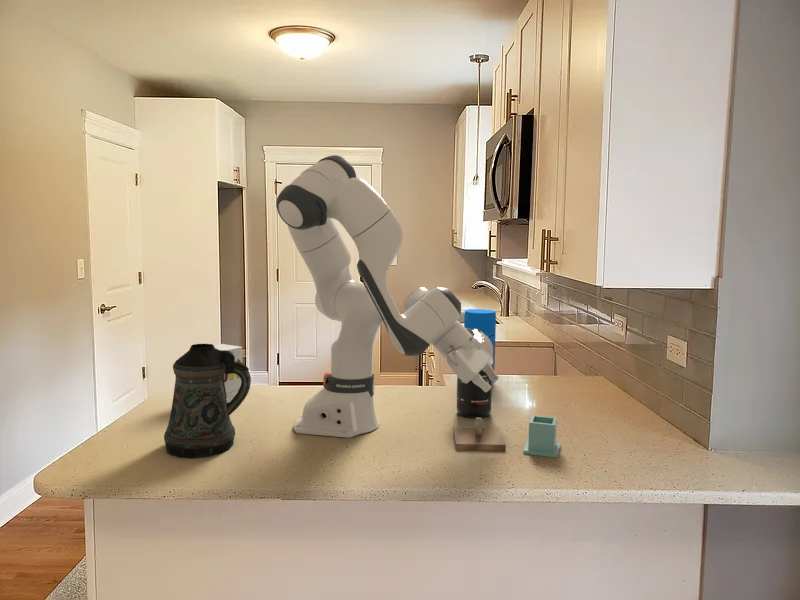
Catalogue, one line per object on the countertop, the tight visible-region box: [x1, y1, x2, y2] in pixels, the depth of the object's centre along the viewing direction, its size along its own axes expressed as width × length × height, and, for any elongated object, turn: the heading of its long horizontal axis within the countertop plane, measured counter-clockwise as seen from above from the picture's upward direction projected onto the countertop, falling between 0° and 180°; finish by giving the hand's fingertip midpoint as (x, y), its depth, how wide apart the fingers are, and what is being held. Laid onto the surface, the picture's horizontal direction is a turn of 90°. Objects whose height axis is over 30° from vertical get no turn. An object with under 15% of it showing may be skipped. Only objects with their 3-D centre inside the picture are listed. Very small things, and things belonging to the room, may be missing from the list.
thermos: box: [463, 308, 497, 385], centre depth 211 cm, size 11×11×25 cm
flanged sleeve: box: [522, 414, 561, 459], centre depth 148 cm, size 8×8×8 cm
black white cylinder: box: [456, 328, 493, 419], centre depth 175 cm, size 10×10×25 cm
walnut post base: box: [452, 417, 507, 452], centre depth 153 cm, size 12×12×6 cm
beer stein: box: [163, 343, 252, 459], centre depth 148 cm, size 16×19×25 cm
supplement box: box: [214, 343, 243, 403], centre depth 185 cm, size 10×9×17 cm
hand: (492, 385), depth 150 cm, fingers open, 8 cm apart
